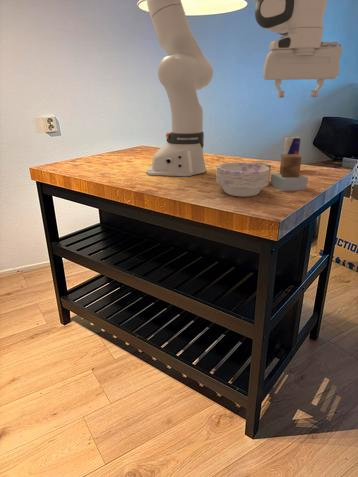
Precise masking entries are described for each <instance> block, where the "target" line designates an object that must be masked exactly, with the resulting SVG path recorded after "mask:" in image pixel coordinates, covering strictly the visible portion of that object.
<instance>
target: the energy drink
mask: <svg viewBox="0 0 358 477" xmlns="http://www.w3.org/2000/svg"><path fill="white" fill-rule="evenodd" d="M300 148H301V137H300V136H293V135H292V136H291V135H289V136H286V137H285V139H284V149H283V154H298V155H300Z"/></svg>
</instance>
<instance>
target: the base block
mask: <svg viewBox="0 0 358 477" xmlns="http://www.w3.org/2000/svg"><path fill="white" fill-rule="evenodd" d="M270 185H271V186H272V187H274V188H276V189H277V190H280V191H281V192H288V191H303V190H307V188H308V187H307V186H308V177H307V176H305V175H302V174H299V177H282V176H281V174H280V172H275V173H274V172H272V173H270Z"/></svg>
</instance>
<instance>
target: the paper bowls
mask: <svg viewBox="0 0 358 477" xmlns="http://www.w3.org/2000/svg"><path fill="white" fill-rule="evenodd" d="M254 163H255V162H226V163H221V164H219V165H217V166H216V174H215V175H216V181H215V182H216V184H218V185H220V186H222V187H221V188H222V189H223V191H224V193H225V194H227V195H229V196H234V197H240V198H241V197H242V198H247V197H253V196H256V195H258V194H259V193H260V192H261V190H262V189H264V188H266V187H268V186H269V183H270V181H269V173H270V174H271V169H269V167H267V166H265V165H261V164H254ZM269 170H270V172H269ZM268 182H269V183H268Z"/></svg>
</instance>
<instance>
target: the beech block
mask: <svg viewBox="0 0 358 477" xmlns="http://www.w3.org/2000/svg"><path fill="white" fill-rule="evenodd" d="M253 163H254V164H261V165H265V166H267V167H269V169H270V170H269V172H270V173H269V182H268V184H270V182H271V166H272V165H271V164H269V163H267V162H264V161H262V162H259V161H258V162H253Z"/></svg>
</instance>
